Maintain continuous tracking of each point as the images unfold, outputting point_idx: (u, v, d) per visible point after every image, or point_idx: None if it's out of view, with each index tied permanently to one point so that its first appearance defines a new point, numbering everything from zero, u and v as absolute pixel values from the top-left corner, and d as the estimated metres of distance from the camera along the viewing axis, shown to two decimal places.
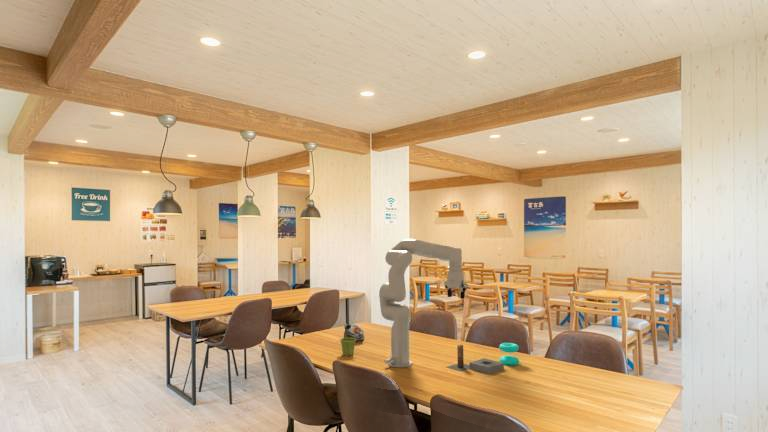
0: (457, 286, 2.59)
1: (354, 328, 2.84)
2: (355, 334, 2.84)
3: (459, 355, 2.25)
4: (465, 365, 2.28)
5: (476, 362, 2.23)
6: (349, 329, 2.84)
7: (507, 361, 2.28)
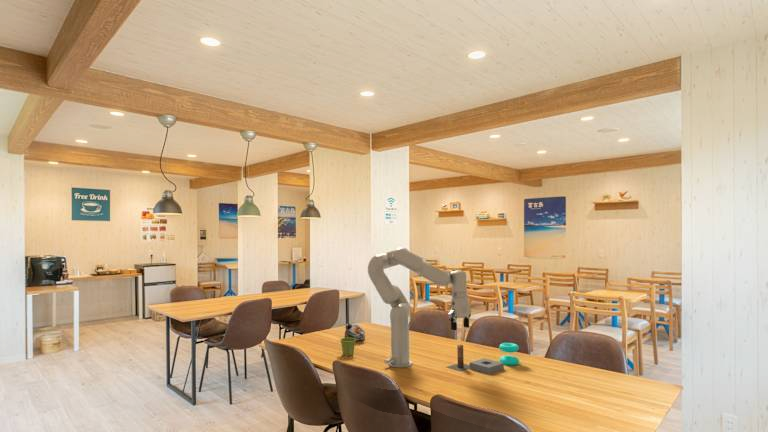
0: (468, 314, 2.27)
1: (355, 328, 2.85)
2: (356, 334, 2.84)
3: (459, 355, 2.25)
4: (465, 365, 2.28)
5: (476, 362, 2.23)
6: (350, 329, 2.84)
7: (507, 361, 2.28)
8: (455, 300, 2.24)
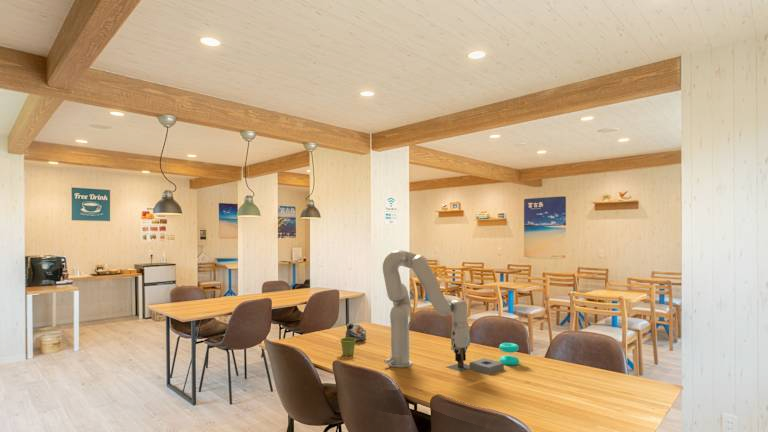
0: (468, 344, 2.26)
1: (357, 328, 2.85)
2: (358, 334, 2.84)
3: None
4: (465, 365, 2.28)
5: (476, 362, 2.23)
6: (352, 329, 2.85)
7: (507, 361, 2.28)
8: (455, 330, 2.23)
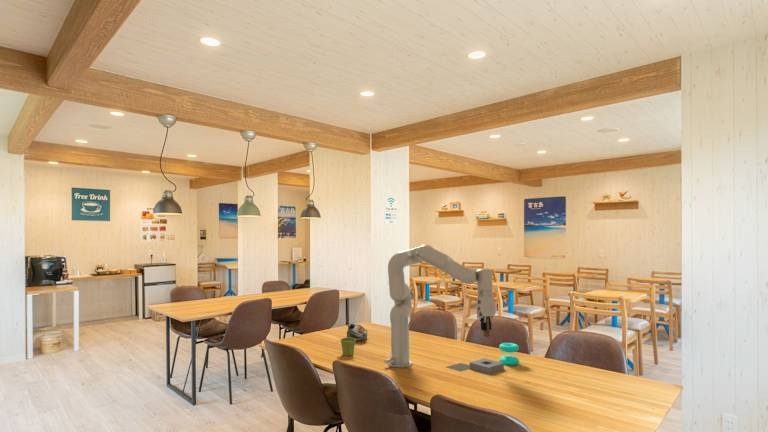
0: (494, 312, 2.23)
1: (358, 328, 2.85)
2: (359, 334, 2.85)
3: None
4: (465, 365, 2.28)
5: (476, 362, 2.23)
6: (353, 329, 2.85)
7: (507, 361, 2.28)
8: (481, 298, 2.20)
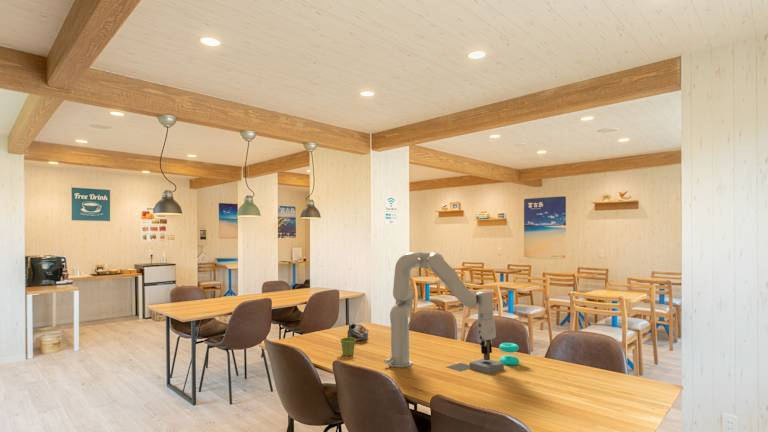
0: (494, 336, 2.23)
1: (359, 327, 2.86)
2: (360, 333, 2.85)
3: None
4: (465, 365, 2.28)
5: (476, 362, 2.23)
6: (354, 329, 2.85)
7: (507, 361, 2.28)
8: (482, 322, 2.19)
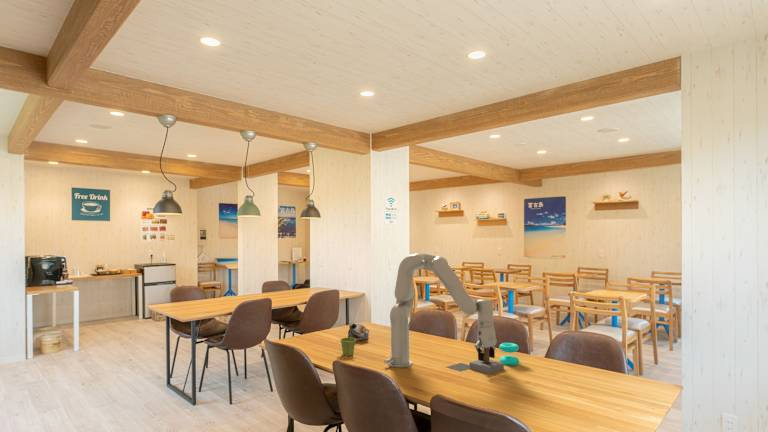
0: (494, 343, 2.23)
1: (360, 327, 2.86)
2: (361, 333, 2.85)
3: (485, 358, 2.21)
4: (465, 365, 2.28)
5: (476, 362, 2.23)
6: (355, 328, 2.86)
7: (507, 361, 2.28)
8: (482, 329, 2.19)
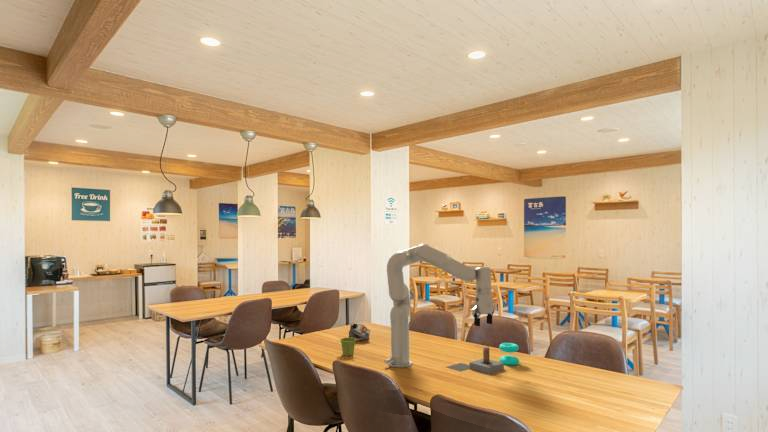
0: (492, 310, 2.26)
1: (361, 327, 2.86)
2: (362, 333, 2.86)
3: (485, 358, 2.21)
4: (465, 365, 2.28)
5: (476, 362, 2.23)
6: (356, 328, 2.86)
7: (507, 361, 2.28)
8: (479, 296, 2.22)
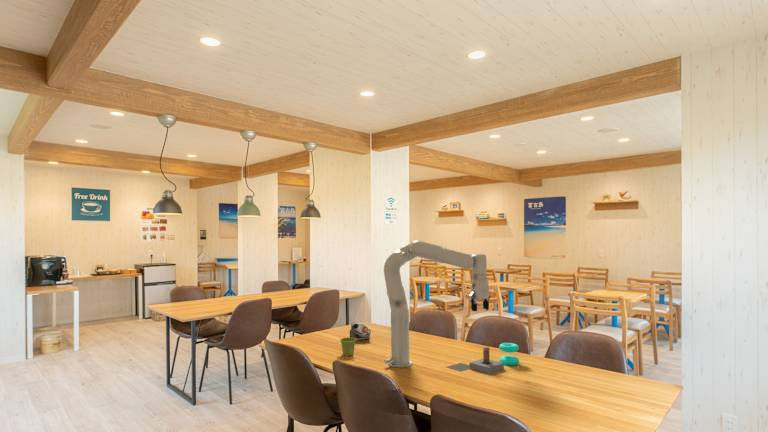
0: (488, 296, 2.34)
1: (362, 327, 2.87)
2: (363, 333, 2.86)
3: (485, 358, 2.21)
4: (465, 365, 2.28)
5: (476, 362, 2.23)
6: (357, 328, 2.86)
7: (507, 361, 2.28)
8: (476, 282, 2.30)
